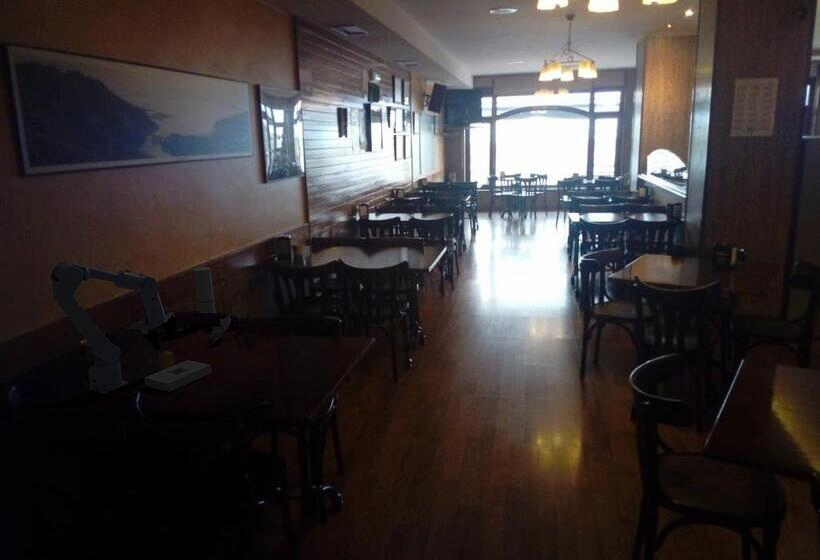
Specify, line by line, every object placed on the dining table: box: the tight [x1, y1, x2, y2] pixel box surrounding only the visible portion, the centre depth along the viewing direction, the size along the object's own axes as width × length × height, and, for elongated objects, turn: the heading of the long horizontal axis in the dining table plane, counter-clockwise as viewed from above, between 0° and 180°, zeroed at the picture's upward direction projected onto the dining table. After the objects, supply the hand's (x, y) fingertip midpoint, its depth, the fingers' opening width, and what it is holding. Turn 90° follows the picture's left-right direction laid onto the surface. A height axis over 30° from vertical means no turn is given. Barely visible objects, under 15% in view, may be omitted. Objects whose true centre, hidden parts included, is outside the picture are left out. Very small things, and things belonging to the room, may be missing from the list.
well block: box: [143, 359, 213, 393], centre depth 212 cm, size 18×12×3 cm, turn 150°
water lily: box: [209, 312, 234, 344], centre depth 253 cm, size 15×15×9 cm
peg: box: [158, 350, 176, 371], centre depth 222 cm, size 4×4×6 cm
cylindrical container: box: [192, 266, 217, 314], centre depth 273 cm, size 7×7×25 cm
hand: (165, 343), depth 221 cm, fingers open, 7 cm apart
